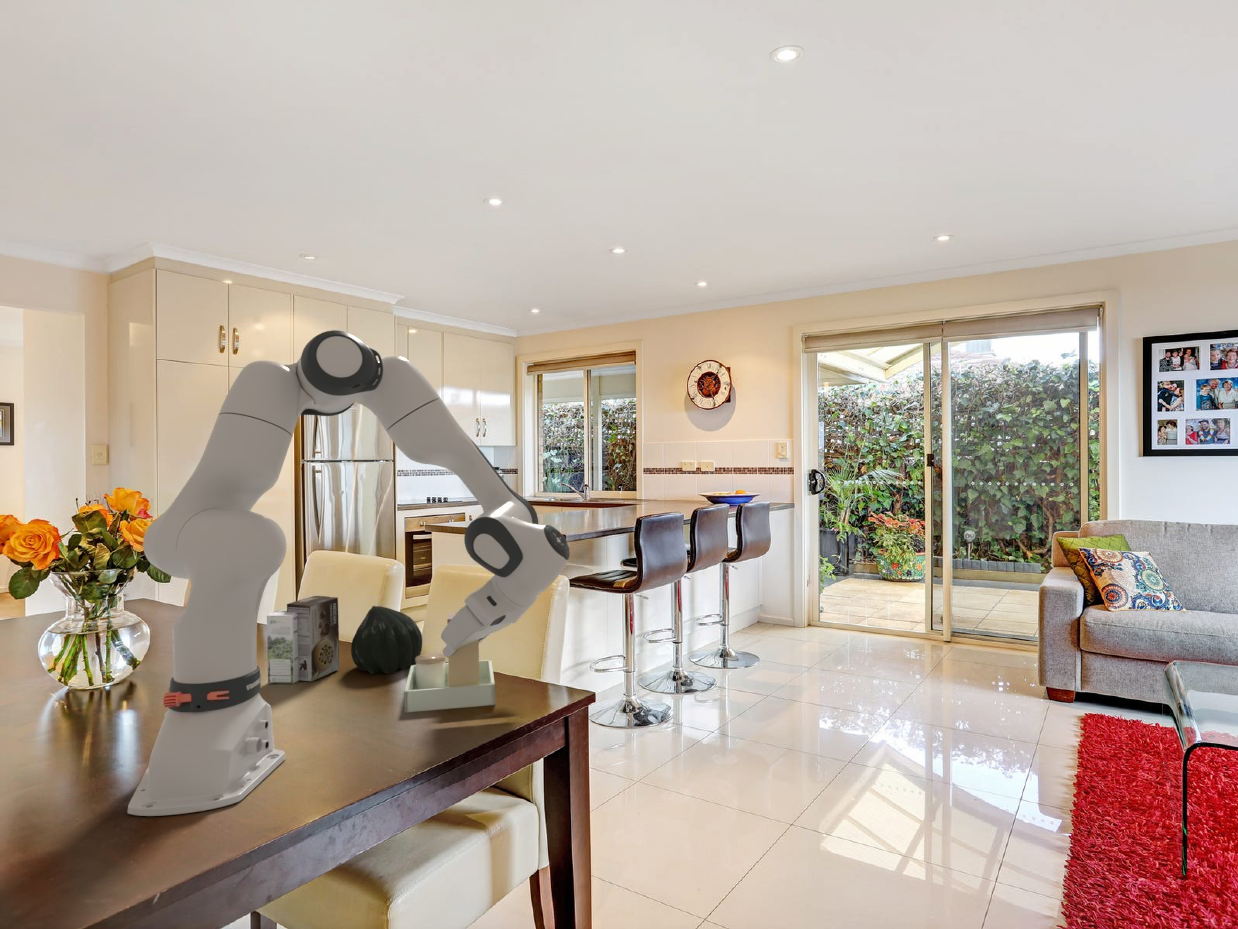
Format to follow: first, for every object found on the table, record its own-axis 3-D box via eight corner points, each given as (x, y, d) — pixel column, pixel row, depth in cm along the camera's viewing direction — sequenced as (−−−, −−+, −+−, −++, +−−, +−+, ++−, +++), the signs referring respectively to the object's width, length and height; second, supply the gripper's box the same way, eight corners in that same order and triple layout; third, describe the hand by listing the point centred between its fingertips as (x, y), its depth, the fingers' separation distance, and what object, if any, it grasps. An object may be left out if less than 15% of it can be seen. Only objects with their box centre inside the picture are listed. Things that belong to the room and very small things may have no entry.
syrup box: (307, 676, 155) (306, 608, 155) (293, 684, 149) (292, 614, 149) (281, 675, 155) (280, 608, 155) (266, 684, 149) (265, 614, 149)
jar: (445, 691, 141) (445, 659, 141) (414, 693, 140) (414, 662, 139) (446, 682, 146) (445, 652, 146) (416, 684, 145) (416, 654, 145)
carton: (479, 687, 134) (478, 617, 134) (448, 690, 133) (447, 619, 132) (479, 678, 139) (477, 611, 139) (449, 681, 138) (448, 613, 138)
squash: (444, 643, 159) (411, 589, 164) (389, 663, 146) (355, 603, 151) (413, 678, 165) (383, 625, 170) (358, 700, 153) (326, 641, 158)
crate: (495, 709, 132) (494, 684, 132) (404, 716, 129) (404, 691, 129) (491, 681, 149) (491, 659, 149) (411, 687, 146) (411, 665, 146)
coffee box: (315, 667, 161) (315, 595, 160) (340, 669, 159) (339, 596, 159) (286, 679, 152) (285, 603, 152) (312, 682, 150) (311, 604, 150)
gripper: (522, 577, 143) (480, 623, 146) (463, 596, 124) (417, 648, 127) (542, 600, 141) (500, 646, 145) (486, 624, 122) (439, 676, 126)
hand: (460, 647), depth 136 cm, fingers closed on carton, 8 cm apart
